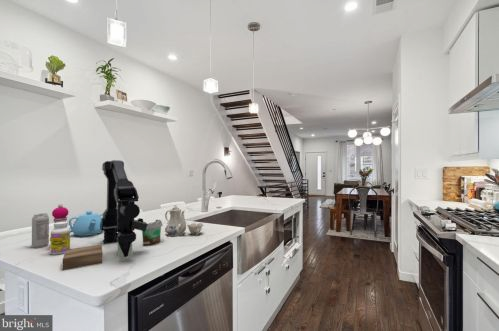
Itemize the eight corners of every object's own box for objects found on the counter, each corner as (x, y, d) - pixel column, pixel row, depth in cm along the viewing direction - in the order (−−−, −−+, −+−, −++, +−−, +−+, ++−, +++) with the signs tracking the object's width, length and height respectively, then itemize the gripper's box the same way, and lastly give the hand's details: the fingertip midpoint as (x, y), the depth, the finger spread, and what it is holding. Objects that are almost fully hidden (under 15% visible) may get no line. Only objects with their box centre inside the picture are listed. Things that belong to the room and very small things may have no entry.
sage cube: (117, 255, 100) (117, 243, 100) (130, 253, 103) (130, 241, 103) (118, 259, 96) (118, 246, 96) (132, 256, 99) (132, 244, 99)
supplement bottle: (48, 256, 100) (48, 225, 100) (52, 251, 105) (52, 222, 106) (68, 253, 103) (68, 223, 103) (71, 249, 108) (71, 220, 109)
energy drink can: (45, 243, 117) (45, 212, 117) (51, 245, 114) (51, 213, 114) (29, 247, 112) (29, 214, 112) (34, 249, 109) (35, 215, 109)
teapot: (105, 228, 147) (105, 207, 147) (114, 234, 132) (114, 211, 133) (65, 234, 134) (65, 211, 134) (69, 242, 119) (70, 216, 119)
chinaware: (208, 236, 134) (210, 206, 136) (185, 240, 120) (188, 207, 122) (174, 230, 149) (176, 202, 151) (150, 233, 135) (153, 203, 137)
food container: (153, 247, 110) (153, 225, 111) (141, 246, 112) (141, 224, 112) (167, 239, 122) (167, 219, 123) (156, 239, 124) (156, 219, 124)
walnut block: (66, 259, 95) (66, 249, 96) (101, 254, 102) (101, 244, 102) (62, 270, 85) (62, 258, 85) (102, 263, 92) (102, 252, 92)
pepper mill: (53, 251, 106) (54, 205, 106) (47, 248, 110) (47, 204, 110) (72, 246, 112) (73, 203, 113) (65, 244, 116) (66, 202, 116)
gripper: (150, 216, 96) (150, 256, 96) (142, 210, 112) (142, 244, 112) (118, 220, 90) (118, 262, 90) (115, 212, 106) (114, 248, 106)
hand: (124, 253), depth 99 cm, fingers open, 9 cm apart
